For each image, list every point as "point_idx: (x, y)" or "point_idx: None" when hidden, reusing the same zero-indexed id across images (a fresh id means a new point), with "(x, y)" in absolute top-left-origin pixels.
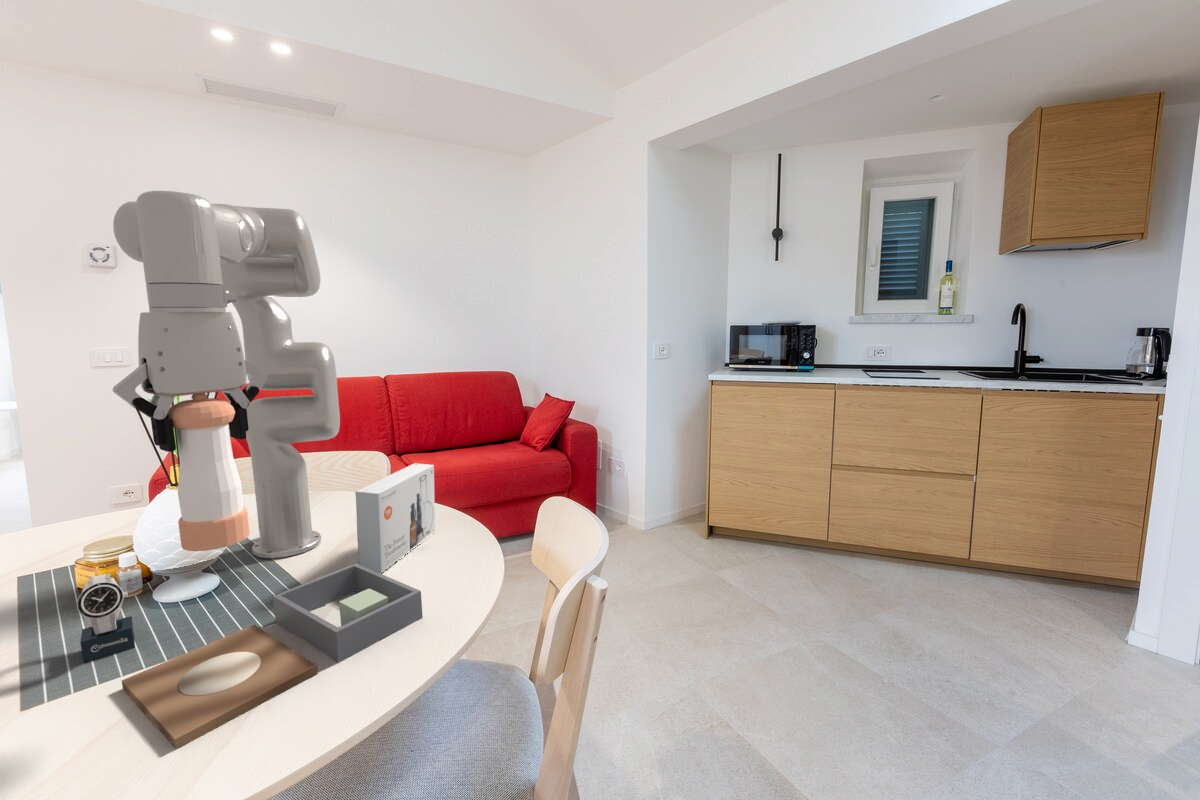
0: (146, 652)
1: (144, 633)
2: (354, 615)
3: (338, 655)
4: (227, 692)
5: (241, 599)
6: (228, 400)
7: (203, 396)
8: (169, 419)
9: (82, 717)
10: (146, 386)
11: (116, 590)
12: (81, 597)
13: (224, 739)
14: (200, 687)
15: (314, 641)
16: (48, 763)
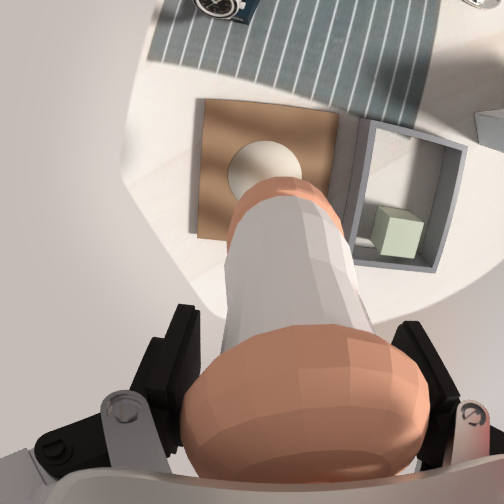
0: (251, 45)
1: (268, 3)
2: (380, 244)
3: None
4: None
5: (371, 28)
6: (452, 432)
7: None
8: (172, 450)
9: (171, 117)
10: (71, 494)
11: (231, 2)
12: None
13: (224, 255)
14: (241, 184)
15: (347, 208)
16: (139, 164)
